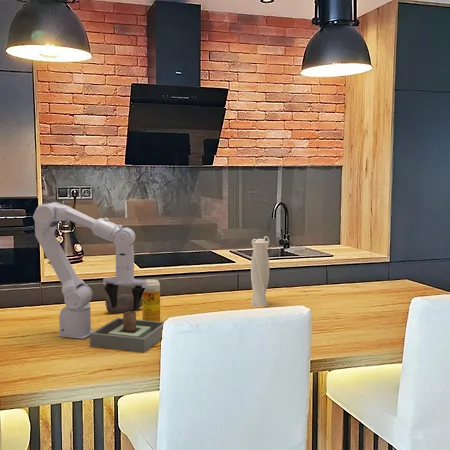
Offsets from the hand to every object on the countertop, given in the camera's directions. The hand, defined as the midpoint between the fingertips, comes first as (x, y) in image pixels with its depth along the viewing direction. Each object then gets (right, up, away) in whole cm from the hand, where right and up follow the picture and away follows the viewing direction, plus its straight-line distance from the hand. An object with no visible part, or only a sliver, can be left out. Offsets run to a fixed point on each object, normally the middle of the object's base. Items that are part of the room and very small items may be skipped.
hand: (125, 307), depth 177 cm
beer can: (+6, -8, +16) cm, 19 cm away
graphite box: (+2, -10, -3) cm, 10 cm away
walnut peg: (+2, -9, -3) cm, 10 cm away
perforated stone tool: (-6, -6, +31) cm, 32 cm away
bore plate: (+2, -10, -3) cm, 10 cm away
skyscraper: (+46, -5, +41) cm, 61 cm away
